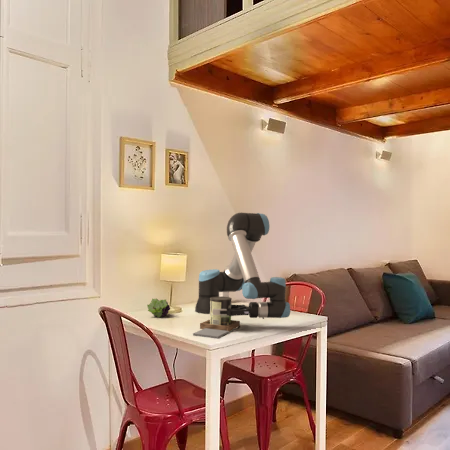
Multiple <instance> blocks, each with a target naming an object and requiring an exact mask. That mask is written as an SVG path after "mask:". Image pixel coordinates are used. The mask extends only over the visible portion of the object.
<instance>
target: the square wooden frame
mask: <svg viewBox="0 0 450 450" xmlns="http://www.w3.org/2000/svg"><path fill="white" fill-rule="evenodd" d="M240 325H241V321H240V320H233V319H231V324H230V325H228V326H223V325H214V324H210V319H208V320H205V321H202V322H200V323H199V329H200V330H202V329H204V328H208V329H216V330H225V331H229V332H231V331H233V330H235V329H237V328H239V327H240Z"/></svg>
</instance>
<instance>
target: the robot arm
mask: <svg viewBox="0 0 450 450" xmlns="http://www.w3.org/2000/svg"><path fill="white" fill-rule="evenodd" d="M269 232H270V220H269V218H268V216H267V214H264V213H260V212H256V213H255V212H254V213H253V212H237V213H235V214H233V215H231V217H230V219H229V220H228V222H227V225H226V235H227V238H228V240H229V241H230V242H231V243H232V244H231V245H232V248H233V251H234V253H233V255H232V257H231V260H230V262H229V265H226V266H225V268H224V270H223V271H220V269H217V268H216V269H205V270H202V271H200V272H199V275H198V298H197V301H196V304H195V307H194V309H195V310H194V312H196V313H198V314H199V313H200V314H209V315H210V298H211V297H219V292H229V293H231V292H232V293H233V292H240V291H241V290H242V296H243V298H245V299H248V300H249V299H250V300H251V299H252V300H256V299H269V301H258V302H257V301H249V303H248V306H247V305H246V304H232V303H231V309H229V308H227V309H213V315H229V316H231V317H234V316H235V317H236V316H249V318H251V319H252V318H253V319H257V318H258V319H262V320H265V319H267V318H269V319H270V318H271V319H272V318H273V319H281V318H282V319H284V318H285V319H286V318H289V317H290V315H291V304H290V302H288V301H286V292H287V291H286V290H287V287H286V286H287V285H286V284H287V283H286V278H284V277H281V276H280V277H279V276H273V277H272V276H271V277H270V278H269V279H270V280H269V281H261V279H260V278H261V277H260V276H259V272H258V270H257V267H256V264H255V261H254V257H253V254H252V252H253V250H254V247H255V245H256V243H257V242H259V241H260V240H261V239H262V236H266V235H268V234H269Z"/></svg>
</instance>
